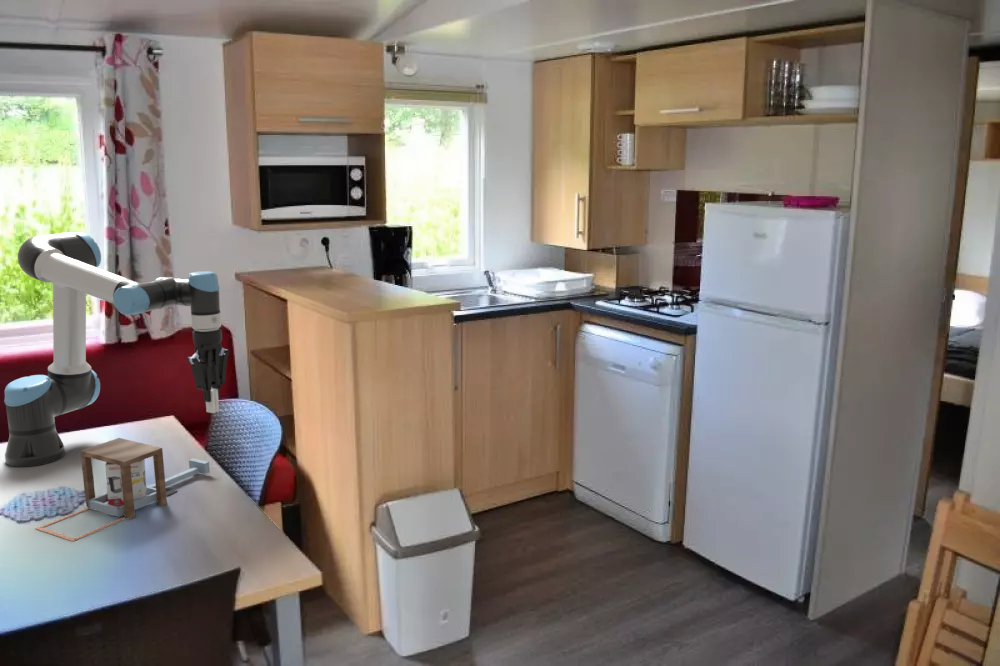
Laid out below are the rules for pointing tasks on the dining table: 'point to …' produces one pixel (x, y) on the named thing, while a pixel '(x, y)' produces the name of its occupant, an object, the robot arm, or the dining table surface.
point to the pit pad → (170, 492)
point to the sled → (148, 490)
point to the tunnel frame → (124, 468)
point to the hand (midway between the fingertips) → (212, 411)
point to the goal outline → (68, 536)
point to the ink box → (116, 484)
